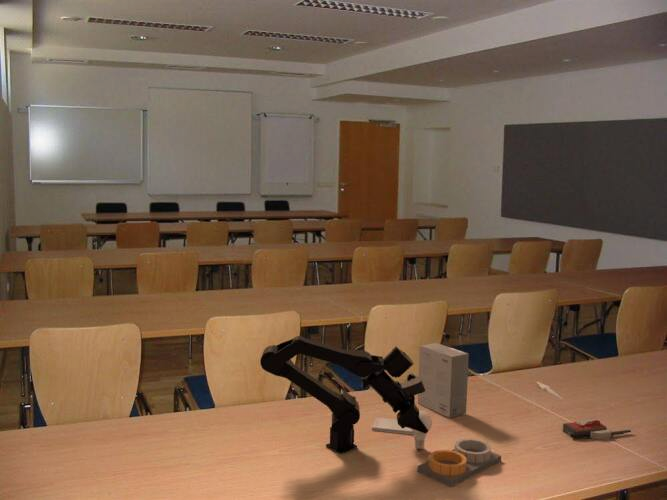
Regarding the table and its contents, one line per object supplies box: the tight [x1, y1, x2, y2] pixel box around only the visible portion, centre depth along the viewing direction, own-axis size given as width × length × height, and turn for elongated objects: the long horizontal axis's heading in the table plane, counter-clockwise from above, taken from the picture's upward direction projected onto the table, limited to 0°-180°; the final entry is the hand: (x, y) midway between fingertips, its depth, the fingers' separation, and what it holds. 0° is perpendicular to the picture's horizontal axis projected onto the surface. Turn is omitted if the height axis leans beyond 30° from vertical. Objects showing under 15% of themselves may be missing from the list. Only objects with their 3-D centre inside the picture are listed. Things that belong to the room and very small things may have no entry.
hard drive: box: [371, 417, 414, 436], centre depth 208 cm, size 2×8×12 cm
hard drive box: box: [417, 342, 470, 419], centre depth 223 cm, size 16×8×20 cm, turn 34°
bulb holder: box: [417, 438, 502, 487], centre depth 183 cm, size 22×11×4 cm, turn 133°
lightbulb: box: [411, 410, 433, 450], centre depth 193 cm, size 6×6×11 cm
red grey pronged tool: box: [562, 417, 632, 440], centre depth 207 cm, size 9×4×20 cm
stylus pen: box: [536, 381, 563, 400], centre depth 241 cm, size 15×3×2 cm, turn 18°
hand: (425, 426), depth 193 cm, fingers open, 7 cm apart
